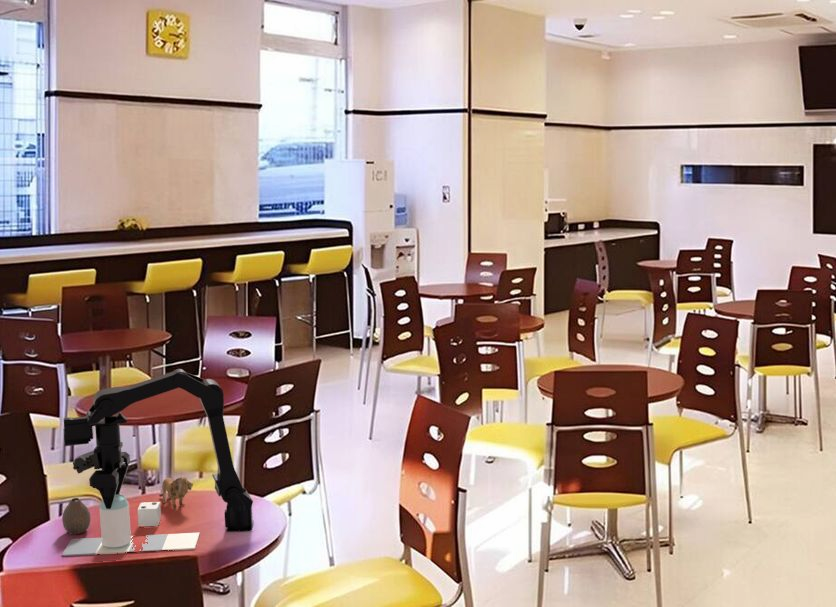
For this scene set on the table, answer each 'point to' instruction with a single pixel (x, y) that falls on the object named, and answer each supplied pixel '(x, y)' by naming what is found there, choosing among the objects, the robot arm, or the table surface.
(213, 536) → the table surface
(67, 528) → the vase
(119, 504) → the can
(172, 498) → the lion figurine
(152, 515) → the die
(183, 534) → the board
